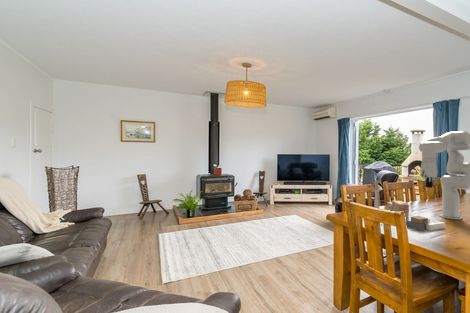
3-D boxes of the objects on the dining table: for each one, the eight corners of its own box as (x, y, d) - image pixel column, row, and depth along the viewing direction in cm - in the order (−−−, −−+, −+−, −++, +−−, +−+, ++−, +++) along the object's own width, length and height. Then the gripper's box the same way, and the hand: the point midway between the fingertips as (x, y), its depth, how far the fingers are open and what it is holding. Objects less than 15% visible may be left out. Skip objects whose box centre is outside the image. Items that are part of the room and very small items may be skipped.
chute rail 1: (427, 223, 162) (427, 218, 162) (430, 223, 160) (430, 218, 160) (412, 225, 158) (412, 220, 158) (415, 226, 156) (415, 220, 156)
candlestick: (367, 218, 174) (368, 178, 173) (388, 221, 166) (388, 179, 165) (364, 222, 164) (364, 180, 163) (385, 226, 156) (386, 181, 155)
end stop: (407, 226, 156) (407, 220, 156) (423, 230, 146) (423, 224, 146) (405, 226, 155) (406, 220, 155) (421, 231, 146) (421, 224, 146)
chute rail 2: (441, 227, 153) (441, 221, 153) (445, 228, 151) (445, 222, 151) (426, 229, 149) (426, 224, 149) (429, 230, 147) (429, 224, 147)
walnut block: (418, 226, 156) (418, 215, 156) (428, 228, 150) (428, 218, 150) (410, 227, 154) (410, 216, 154) (420, 230, 148) (420, 219, 148)
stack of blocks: (387, 213, 189) (387, 198, 189) (395, 213, 187) (395, 198, 187) (399, 220, 168) (399, 203, 168) (408, 221, 167) (409, 204, 166)
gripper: (430, 159, 164) (430, 185, 164) (415, 160, 159) (415, 187, 160) (442, 160, 157) (443, 187, 157) (427, 161, 152) (427, 189, 153)
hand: (429, 187), depth 158 cm, fingers closed
